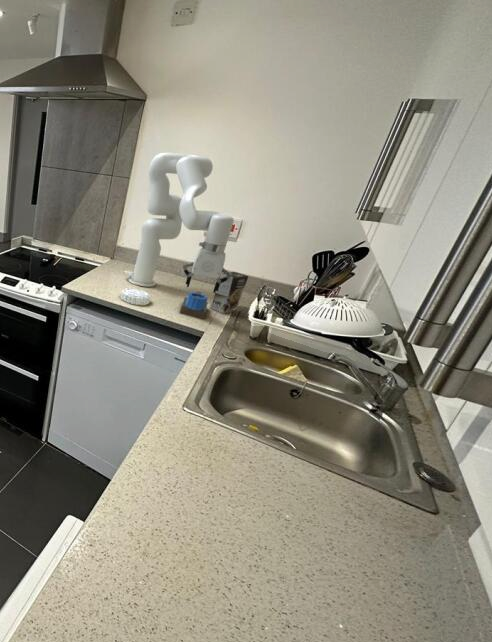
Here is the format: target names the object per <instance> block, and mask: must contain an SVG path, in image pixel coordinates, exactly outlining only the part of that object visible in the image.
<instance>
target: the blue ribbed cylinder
mask: <svg viewBox="0 0 492 642" xmlns="http://www.w3.org/2000/svg"><path fill="white" fill-rule="evenodd" d="M195 296H199V297H201V298H197V297H195ZM186 297H187V299H186V303H185V306H186V307H188V308H190V309H193V310H198V311H202V310H204V308H205V305H206V302H208V299H209V296H207V295H205V294H203V293H201V294H200V293H196V292H195V291H194V292H193V291H192V292H188V293H187V295H186Z"/></svg>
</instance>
